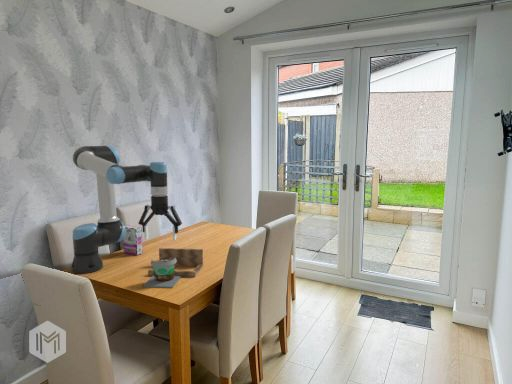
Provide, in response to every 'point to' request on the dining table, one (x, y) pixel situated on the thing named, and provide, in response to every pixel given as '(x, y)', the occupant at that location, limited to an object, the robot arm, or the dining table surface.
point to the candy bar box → (133, 240)
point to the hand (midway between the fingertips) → (160, 239)
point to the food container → (164, 269)
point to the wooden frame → (182, 259)
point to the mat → (167, 284)
